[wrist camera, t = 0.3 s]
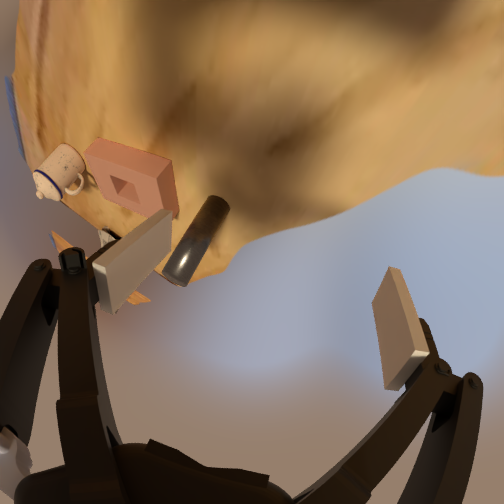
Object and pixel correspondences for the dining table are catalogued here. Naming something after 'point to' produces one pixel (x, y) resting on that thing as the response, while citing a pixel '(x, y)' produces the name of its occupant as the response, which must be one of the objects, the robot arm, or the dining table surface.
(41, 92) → the dining table surface
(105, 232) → the newspaper
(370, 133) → the dining table surface
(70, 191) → the teacup with lid
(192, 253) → the pin
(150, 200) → the pink block with hole
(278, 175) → the dining table surface
